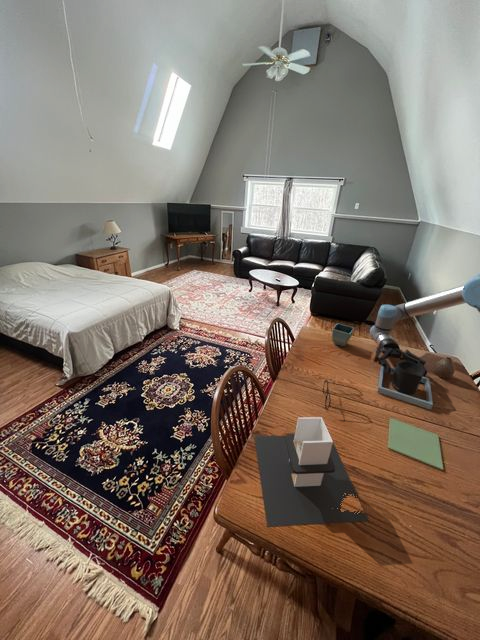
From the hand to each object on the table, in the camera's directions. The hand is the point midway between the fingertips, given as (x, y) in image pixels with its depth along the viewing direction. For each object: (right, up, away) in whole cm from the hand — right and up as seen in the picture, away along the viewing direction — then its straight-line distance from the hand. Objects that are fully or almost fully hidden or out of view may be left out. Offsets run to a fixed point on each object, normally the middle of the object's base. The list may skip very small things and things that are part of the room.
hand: (407, 372), depth 106 cm
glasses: (-28, -10, -7) cm, 30 cm away
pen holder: (0, -7, +2) cm, 7 cm away
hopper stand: (-49, -21, -33) cm, 63 cm away
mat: (-12, -18, -22) cm, 31 cm away
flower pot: (-14, +8, +33) cm, 37 cm away
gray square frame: (0, -7, +2) cm, 7 cm away
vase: (+22, -4, +11) cm, 25 cm away
